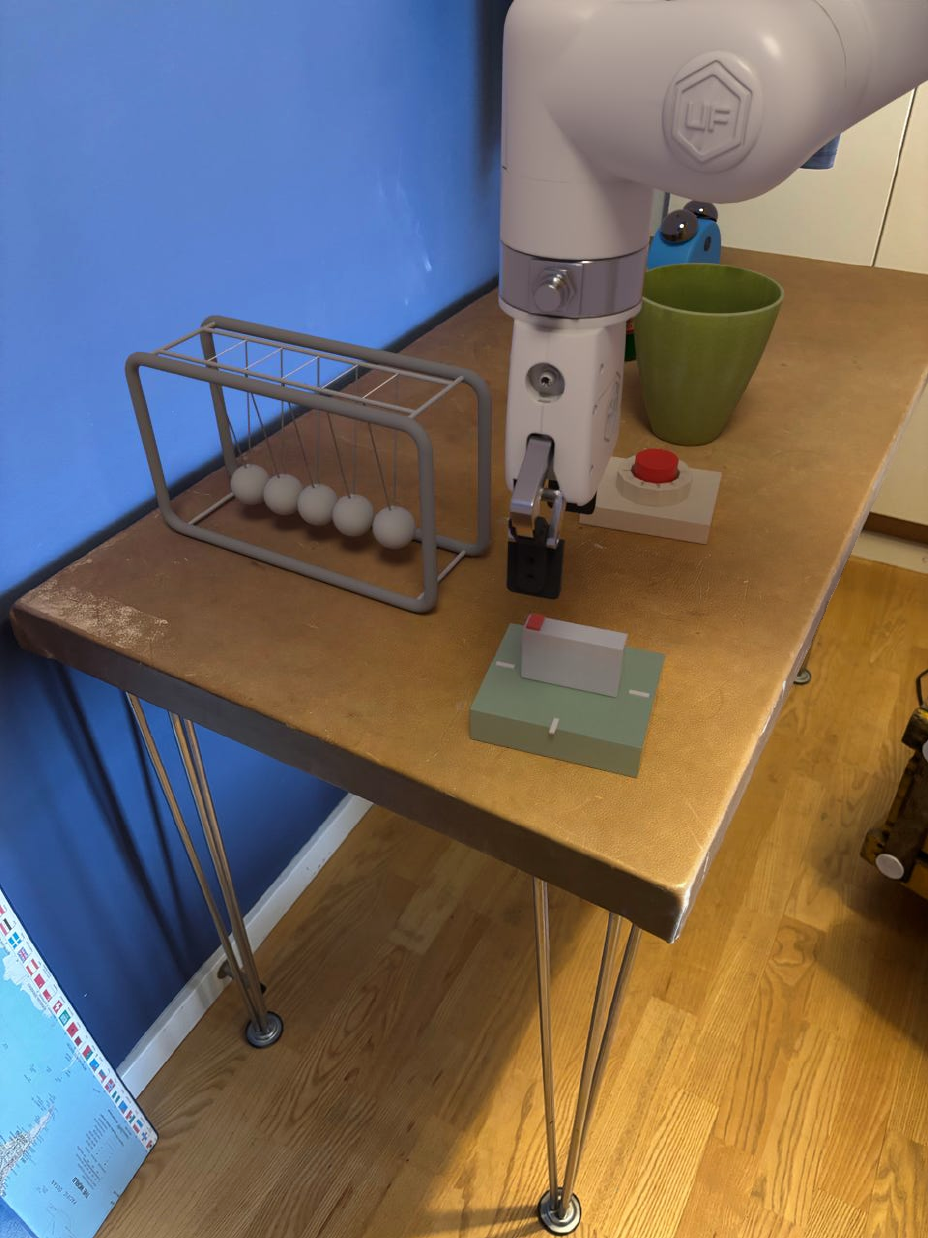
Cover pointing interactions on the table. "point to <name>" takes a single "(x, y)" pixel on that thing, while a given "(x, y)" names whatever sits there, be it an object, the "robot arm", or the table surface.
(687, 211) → the alarm clock
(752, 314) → the flower pot
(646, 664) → the panel
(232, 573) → the table surface
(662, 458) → the button
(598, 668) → the tap handle
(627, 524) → the button block
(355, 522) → the newton's cradle
